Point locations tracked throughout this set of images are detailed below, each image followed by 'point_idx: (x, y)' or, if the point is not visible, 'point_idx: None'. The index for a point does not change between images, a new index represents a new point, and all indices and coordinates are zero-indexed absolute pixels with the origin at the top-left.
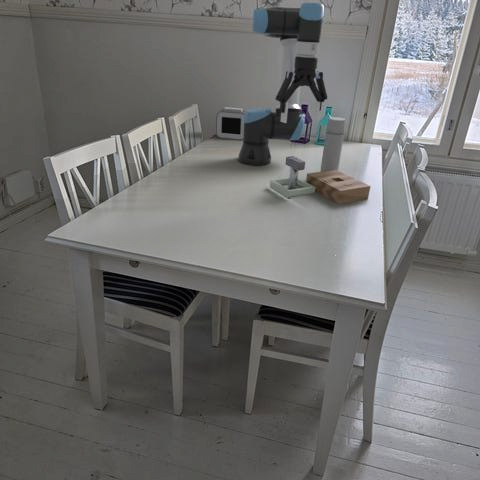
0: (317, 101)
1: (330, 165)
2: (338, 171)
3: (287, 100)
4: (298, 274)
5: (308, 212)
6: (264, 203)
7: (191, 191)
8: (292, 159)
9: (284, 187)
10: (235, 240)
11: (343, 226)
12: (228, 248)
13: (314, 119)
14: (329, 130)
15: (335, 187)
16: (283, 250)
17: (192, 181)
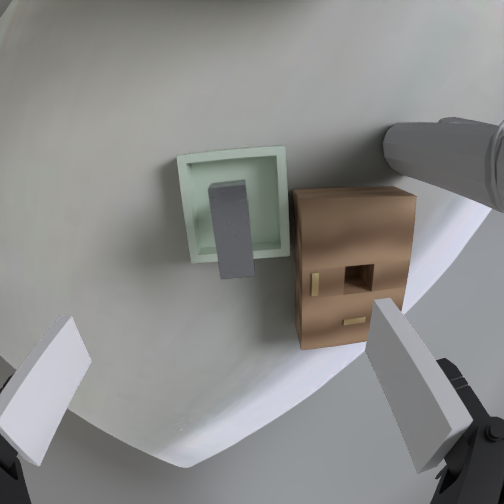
0: (451, 445)
1: (417, 176)
2: (414, 213)
3: (23, 479)
4: (125, 433)
5: (208, 331)
6: (126, 261)
7: (6, 152)
8: (215, 235)
9: (191, 232)
10: None
11: (243, 389)
12: None
13: (370, 335)
14: (496, 177)
15: (305, 330)
16: (119, 404)
17: (20, 84)
